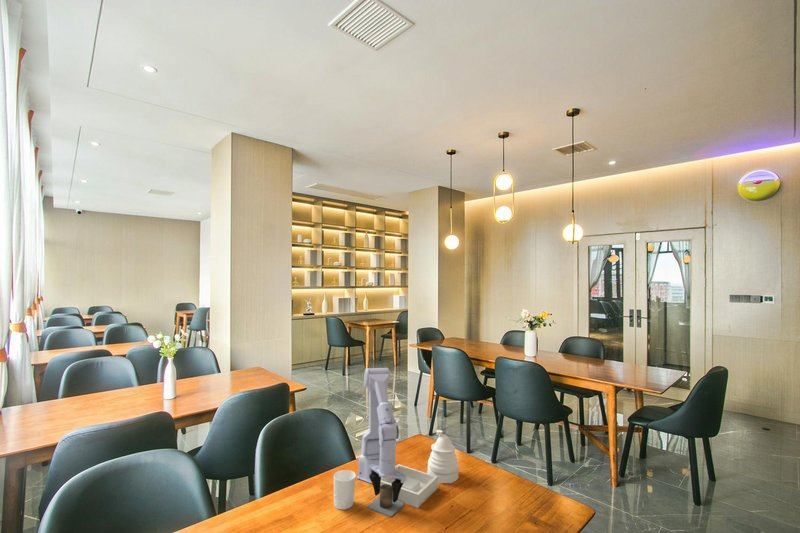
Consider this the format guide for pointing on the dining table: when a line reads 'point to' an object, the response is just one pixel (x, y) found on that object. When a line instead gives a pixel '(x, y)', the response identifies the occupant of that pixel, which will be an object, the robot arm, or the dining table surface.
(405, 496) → the grey crate
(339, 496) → the white cup
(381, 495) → the walnut cylinder
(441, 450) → the honey pot
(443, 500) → the dining table surface
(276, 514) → the dining table surface
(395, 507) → the slate pad
